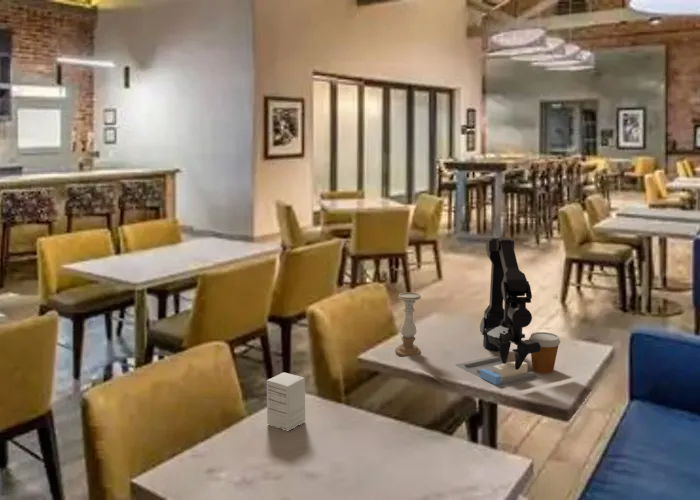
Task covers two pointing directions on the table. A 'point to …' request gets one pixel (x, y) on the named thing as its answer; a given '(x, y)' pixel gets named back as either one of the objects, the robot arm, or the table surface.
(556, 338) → the disposable coffee cup
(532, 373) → the duct tray
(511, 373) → the cream rectangular block
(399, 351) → the candle holder
